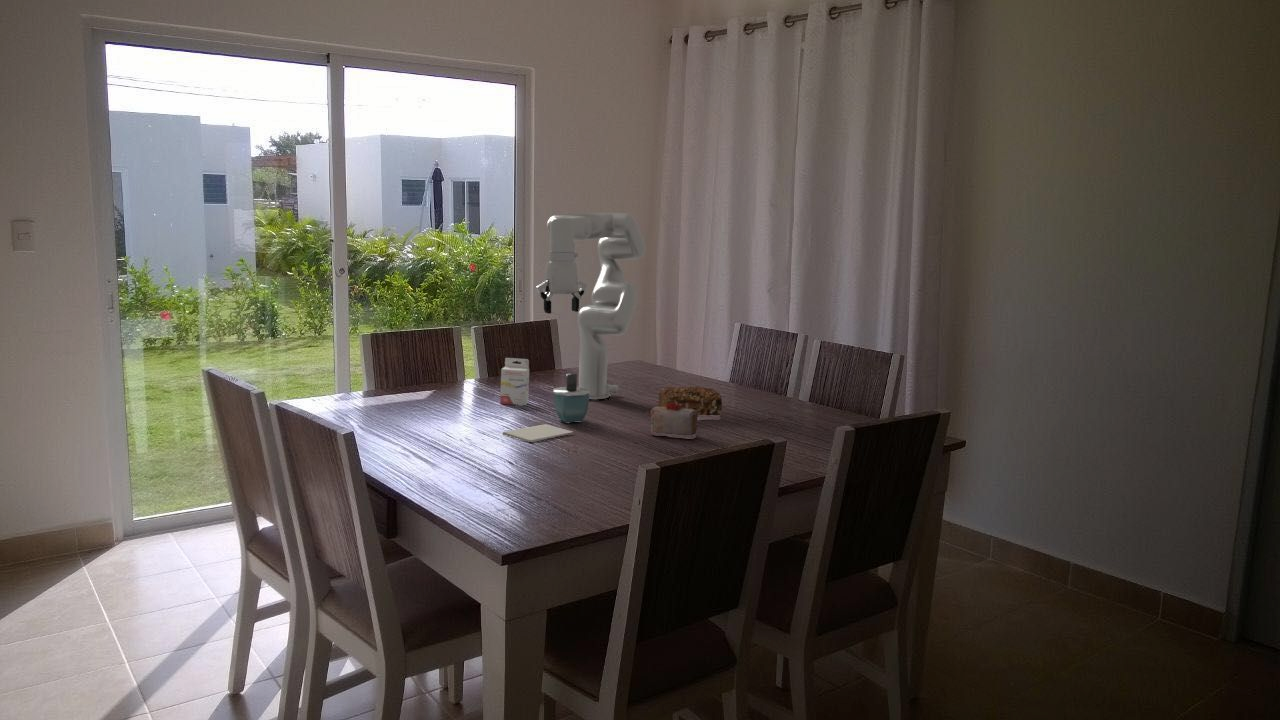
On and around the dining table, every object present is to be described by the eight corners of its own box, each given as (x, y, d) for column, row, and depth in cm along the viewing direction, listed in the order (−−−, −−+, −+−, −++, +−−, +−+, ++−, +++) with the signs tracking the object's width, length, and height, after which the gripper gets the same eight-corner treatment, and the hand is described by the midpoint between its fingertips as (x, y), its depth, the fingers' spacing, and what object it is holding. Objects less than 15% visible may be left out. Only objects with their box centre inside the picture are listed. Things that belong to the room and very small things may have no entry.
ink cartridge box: (499, 404, 302) (500, 359, 300) (503, 401, 307) (504, 357, 305) (525, 405, 302) (526, 361, 299) (528, 402, 306) (529, 358, 304)
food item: (646, 436, 267) (647, 403, 266) (654, 430, 275) (655, 398, 273) (692, 442, 264) (694, 407, 262) (699, 435, 271) (700, 402, 269)
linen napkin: (545, 426, 274) (545, 424, 274) (573, 434, 266) (573, 431, 266) (502, 434, 263) (502, 431, 262) (530, 443, 255) (530, 440, 254)
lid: (576, 388, 288) (576, 369, 287) (596, 394, 280) (597, 375, 279) (545, 391, 282) (546, 372, 281) (566, 397, 273) (566, 378, 272)
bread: (663, 421, 288) (665, 390, 286) (657, 414, 298) (658, 383, 296) (722, 421, 291) (724, 390, 289) (713, 414, 301) (715, 383, 300)
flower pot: (551, 419, 284) (552, 390, 283) (578, 417, 288) (579, 389, 286) (561, 425, 276) (562, 396, 275) (589, 424, 280) (590, 394, 278)
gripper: (580, 255, 296) (579, 309, 299) (531, 257, 286) (531, 312, 290) (592, 257, 290) (591, 312, 293) (542, 259, 280) (542, 315, 284)
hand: (561, 312), depth 291 cm, fingers open, 9 cm apart
